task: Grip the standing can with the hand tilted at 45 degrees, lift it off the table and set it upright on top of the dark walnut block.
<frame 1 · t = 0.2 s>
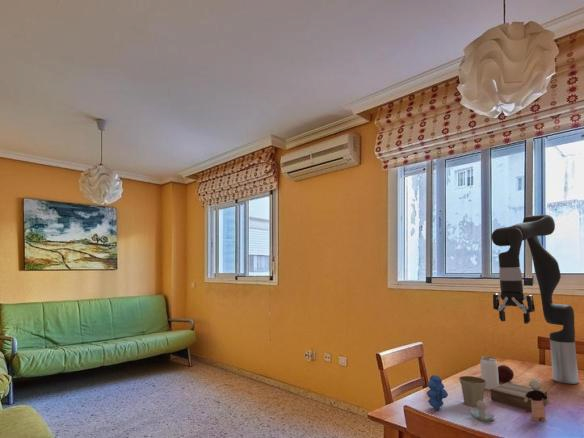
hand: (514, 322, 146), 29 cm above the table, tool pointing down, fingers open, 8 cm apart
flower pot: (473, 404, 141), on the table
walnut block: (519, 401, 143), on the table
pacifier: (483, 419, 127), on the table
grapes: (439, 411, 134), on the table
can: (490, 388, 158), on the table
grandmother figurine: (537, 419, 127), on the table
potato: (504, 381, 168), on the table
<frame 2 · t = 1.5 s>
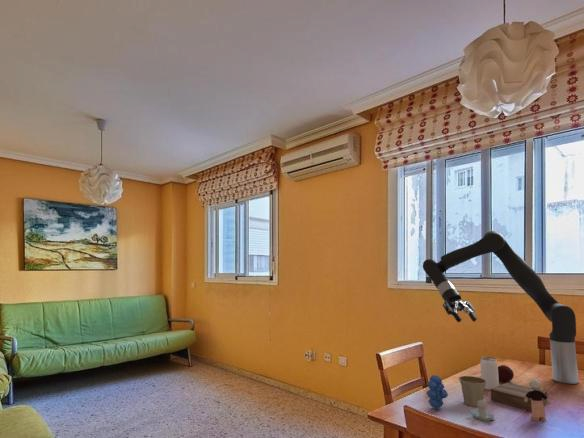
hand: (467, 320, 172), 26 cm above the table, tool tilted 45°, fingers open, 8 cm apart
nothing on the table moved.
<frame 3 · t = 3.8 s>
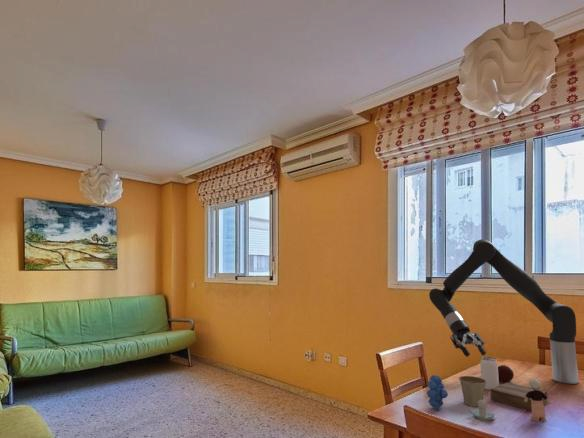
hand: (476, 355, 166), 12 cm above the table, tool tilted 45°, fingers open, 8 cm apart
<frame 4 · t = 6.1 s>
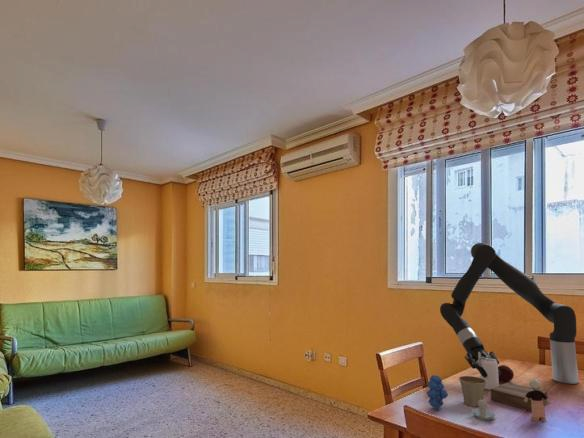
hand: (492, 375, 158), 5 cm above the table, tool tilted 45°, fingers closed on can, 6 cm apart
can: (490, 388, 158), on the table, touching gripper
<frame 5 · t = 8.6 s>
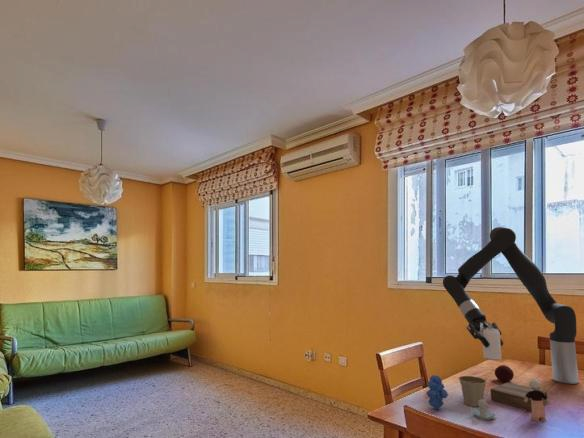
hand: (494, 345, 157), 18 cm above the table, tool tilted 45°, fingers closed on can, 6 cm apart
can: (492, 358, 158), point 12 cm above the table, touching gripper
when the fingers open (11 cm above the table, at t = 11.3 s): can drops 1 cm, resting on walnut block.
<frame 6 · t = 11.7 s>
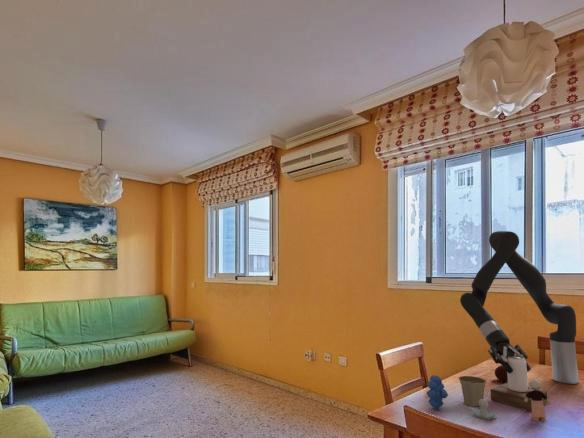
hand: (520, 371, 143), 11 cm above the table, tool tilted 45°, fingers open, 8 cm apart
can: (517, 390, 144), point 4 cm above the table, touching walnut block
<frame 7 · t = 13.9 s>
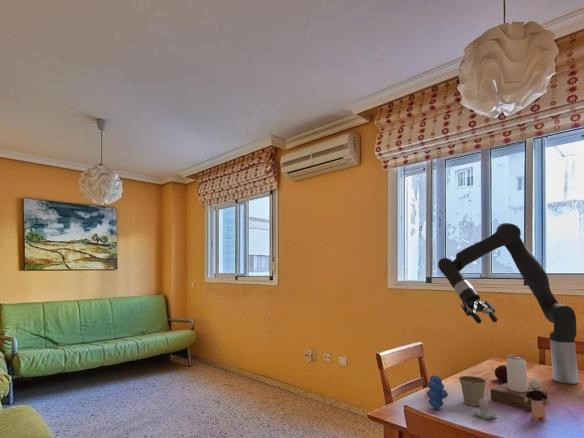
hand: (488, 321, 163), 27 cm above the table, tool tilted 45°, fingers open, 8 cm apart
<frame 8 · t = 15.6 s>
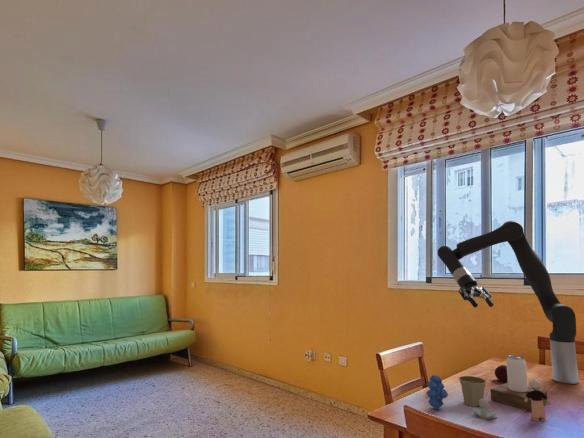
hand: (484, 306, 169), 33 cm above the table, tool tilted 45°, fingers open, 8 cm apart
at the end: can inside the target area on the walnut block (0.2 cm from its centre), point 3.8 cm above the walnut block's base; can tilted 0°; the gripper is holding nothing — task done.
